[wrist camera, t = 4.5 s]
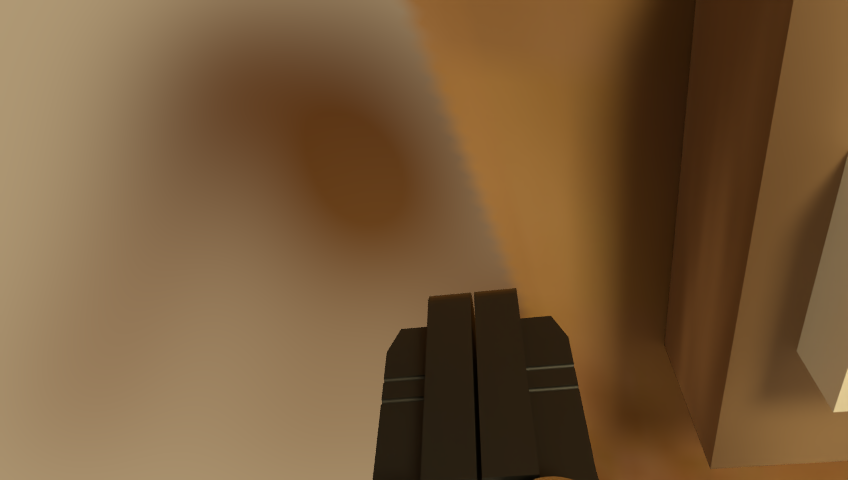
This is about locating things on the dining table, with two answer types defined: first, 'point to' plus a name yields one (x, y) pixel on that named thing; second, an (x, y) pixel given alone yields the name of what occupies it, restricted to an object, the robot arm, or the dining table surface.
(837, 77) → the board
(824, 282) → the tile
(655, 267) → the dining table surface
